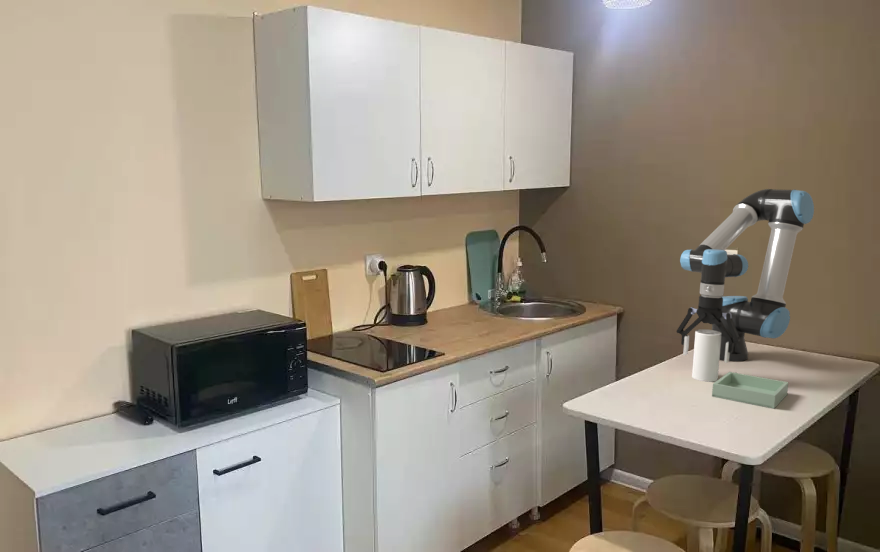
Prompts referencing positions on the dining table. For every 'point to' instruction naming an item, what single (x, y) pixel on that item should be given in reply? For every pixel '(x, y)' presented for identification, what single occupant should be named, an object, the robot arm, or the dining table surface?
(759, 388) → the bin
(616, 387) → the dining table surface
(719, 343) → the cup
